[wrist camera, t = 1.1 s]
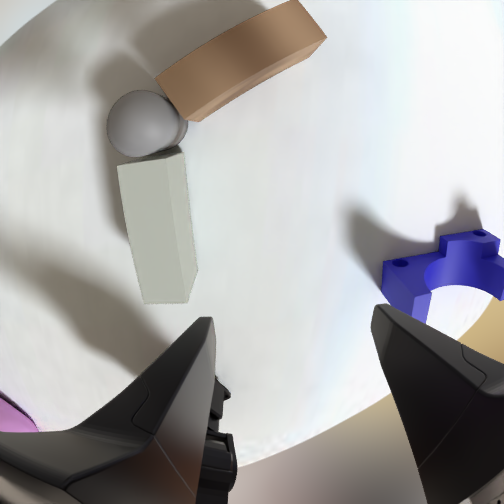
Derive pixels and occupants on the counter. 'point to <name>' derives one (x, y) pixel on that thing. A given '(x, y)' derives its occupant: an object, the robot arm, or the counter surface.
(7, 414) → the teapot
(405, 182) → the counter surface
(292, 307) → the counter surface
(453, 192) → the counter surface
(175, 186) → the hinge leaf
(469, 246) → the cable clip
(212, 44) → the hinge base
